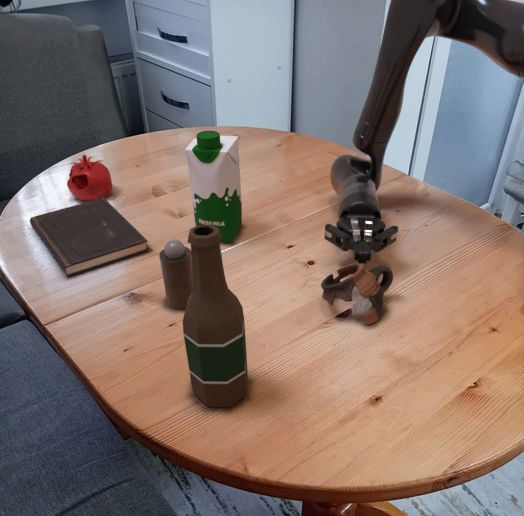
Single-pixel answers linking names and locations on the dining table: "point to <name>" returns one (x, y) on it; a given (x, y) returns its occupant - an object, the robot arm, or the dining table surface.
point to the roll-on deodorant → (177, 273)
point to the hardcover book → (88, 236)
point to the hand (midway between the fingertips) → (363, 258)
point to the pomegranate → (89, 180)
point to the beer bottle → (213, 326)
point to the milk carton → (216, 182)
